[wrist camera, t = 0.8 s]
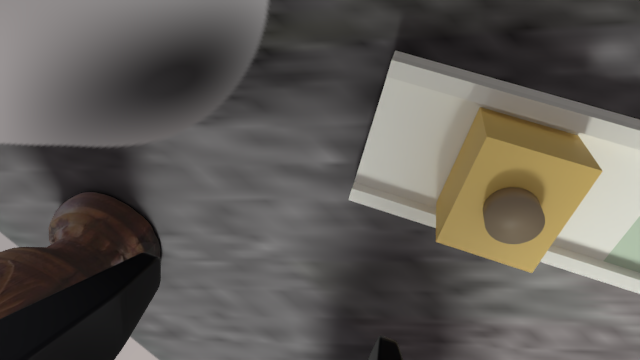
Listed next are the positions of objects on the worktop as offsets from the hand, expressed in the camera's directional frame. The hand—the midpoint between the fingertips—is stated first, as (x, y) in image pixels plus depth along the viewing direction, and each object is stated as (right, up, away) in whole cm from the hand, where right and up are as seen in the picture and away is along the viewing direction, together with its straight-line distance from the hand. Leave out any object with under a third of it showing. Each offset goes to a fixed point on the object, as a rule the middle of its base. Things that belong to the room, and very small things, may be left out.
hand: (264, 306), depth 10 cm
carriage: (+9, +3, +8) cm, 13 cm away
